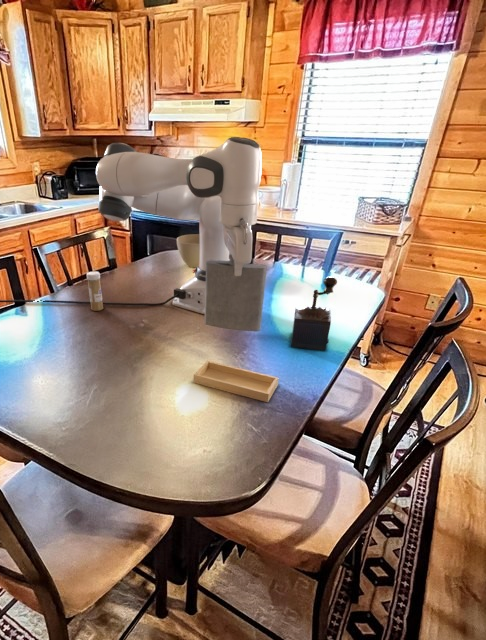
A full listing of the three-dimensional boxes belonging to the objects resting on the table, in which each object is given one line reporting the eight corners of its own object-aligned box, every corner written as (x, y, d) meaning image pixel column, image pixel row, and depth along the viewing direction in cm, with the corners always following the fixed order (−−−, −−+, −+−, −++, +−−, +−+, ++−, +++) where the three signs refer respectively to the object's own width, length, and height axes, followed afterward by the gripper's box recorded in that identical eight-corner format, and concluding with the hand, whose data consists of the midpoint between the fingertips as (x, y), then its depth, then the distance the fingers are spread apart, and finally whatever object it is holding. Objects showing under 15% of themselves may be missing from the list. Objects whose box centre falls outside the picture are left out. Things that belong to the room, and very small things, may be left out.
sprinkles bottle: (102, 311, 151) (97, 275, 143) (89, 311, 151) (84, 274, 144) (104, 306, 154) (100, 271, 147) (92, 306, 155) (88, 270, 148)
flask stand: (193, 382, 109) (193, 374, 108) (207, 367, 115) (207, 360, 114) (267, 402, 101) (268, 394, 99) (277, 385, 107) (278, 377, 106)
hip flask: (261, 327, 115) (268, 255, 105) (258, 333, 112) (266, 259, 101) (206, 320, 120) (208, 250, 109) (202, 325, 117) (203, 254, 106)
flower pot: (174, 270, 191) (173, 243, 185) (180, 259, 206) (179, 233, 200) (213, 271, 188) (213, 244, 182) (216, 260, 203) (217, 234, 197)
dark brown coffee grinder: (328, 351, 122) (340, 293, 113) (289, 347, 125) (298, 289, 115) (327, 329, 135) (338, 275, 125) (292, 326, 138) (300, 272, 128)
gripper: (261, 223, 92) (255, 284, 99) (244, 207, 109) (240, 260, 116) (233, 224, 92) (229, 285, 99) (220, 207, 109) (218, 260, 116)
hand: (235, 271), depth 108 cm, fingers closed on hip flask, 5 cm apart
